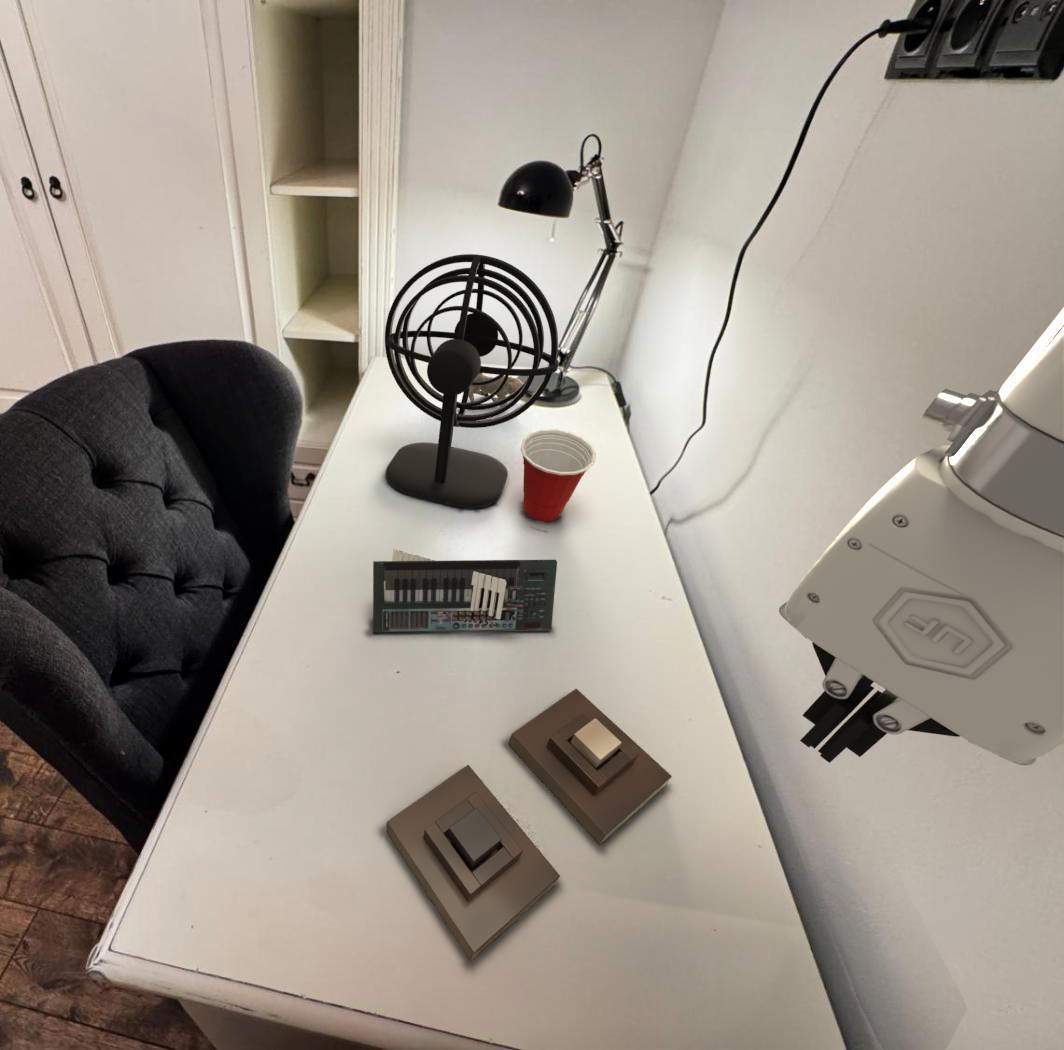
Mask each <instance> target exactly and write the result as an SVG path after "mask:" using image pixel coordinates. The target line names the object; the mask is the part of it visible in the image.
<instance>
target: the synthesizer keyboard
mask: <svg viewBox="0 0 1064 1050" xmlns="http://www.w3.org/2000/svg"><path fill="white" fill-rule="evenodd" d="M557 569H558V561H557V559H476V560H474V559H471V560H468V559H467V560H465V559H464V560H463V559H461V560H434V559H431V558H428V557H425V556H420V555H418V554H413V553H409V552H406V551H402V550H398V549H396V548H395V549H393V551H392V560H384V561H383V560H380V561H379V560H376V561H375V560H373V561H372V603H373V604H372V615H373V616H372V632H373V633H422V632H424V633H428V632H432V633H433V632H437V633H438V632H494V631H495V632H502V631H503V632H504V631H505V632H506V631H507V632H511V631H512V632H514V631H517V632H518V631H552V626H553V616H554V615H553V614H554V605H555V593H556V592H555V590H556V582H557V581H556V580H557V571H558V570H557Z"/></svg>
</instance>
